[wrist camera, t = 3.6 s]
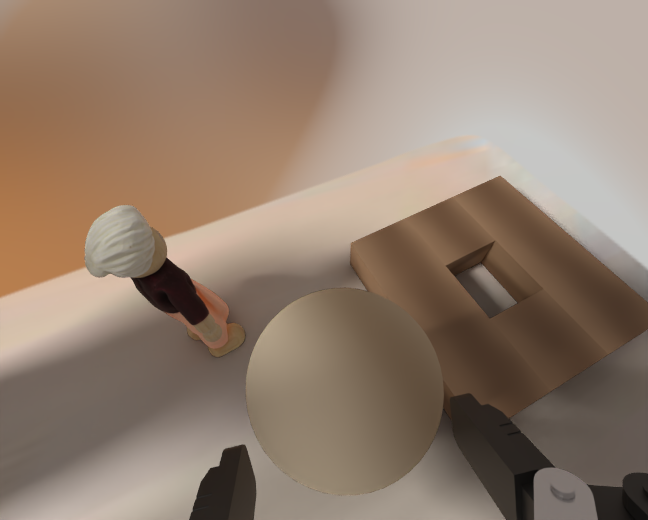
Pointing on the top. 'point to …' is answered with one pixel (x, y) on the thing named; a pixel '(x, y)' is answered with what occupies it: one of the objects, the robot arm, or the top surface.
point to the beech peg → (344, 391)
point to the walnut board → (517, 278)
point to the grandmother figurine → (158, 277)
